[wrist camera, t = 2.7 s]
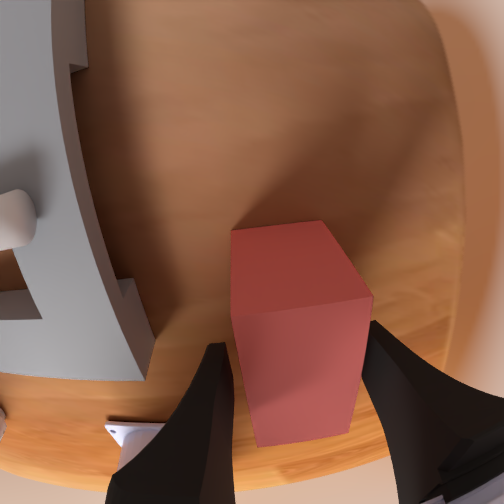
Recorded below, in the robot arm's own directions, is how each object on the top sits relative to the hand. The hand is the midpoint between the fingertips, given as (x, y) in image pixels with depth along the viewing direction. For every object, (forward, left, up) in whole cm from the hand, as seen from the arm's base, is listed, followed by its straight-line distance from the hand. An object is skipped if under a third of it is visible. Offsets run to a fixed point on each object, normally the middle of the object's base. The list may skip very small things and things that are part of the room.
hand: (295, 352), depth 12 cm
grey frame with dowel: (+7, +15, -4) cm, 17 cm away
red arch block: (0, 0, -4) cm, 4 cm away
